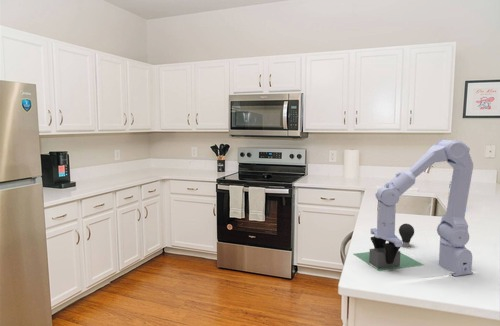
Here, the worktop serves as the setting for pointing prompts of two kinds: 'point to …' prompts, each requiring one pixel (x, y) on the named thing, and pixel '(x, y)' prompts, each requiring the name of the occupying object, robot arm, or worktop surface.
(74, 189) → the worktop surface
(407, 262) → the header board
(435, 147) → the robot arm
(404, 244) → the light bulb
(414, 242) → the worktop surface
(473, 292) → the worktop surface
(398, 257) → the plug housing
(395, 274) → the worktop surface
